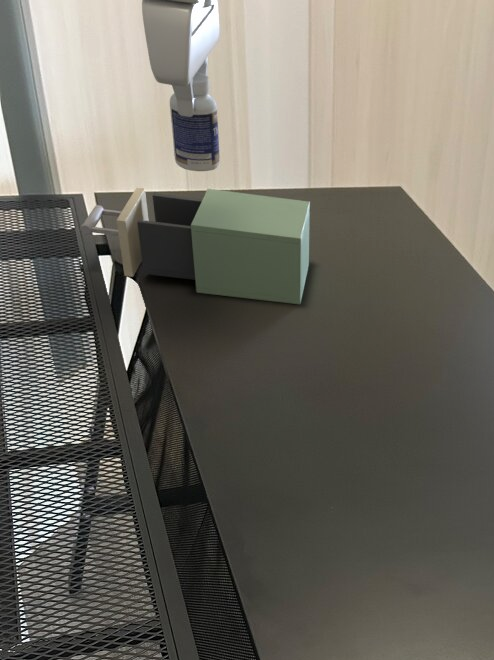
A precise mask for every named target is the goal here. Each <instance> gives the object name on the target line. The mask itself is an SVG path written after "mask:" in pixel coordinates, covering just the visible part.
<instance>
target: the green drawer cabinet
mask: <svg viewBox="0 0 494 660" xmlns="http://www.w3.org/2000/svg"><path fill="white" fill-rule="evenodd" d="M202 199H203V200H202V202H201V204H200V206H199V209H198V211H197V213H196V215H195V217H194V219H193V221H192V224H191V233H192V245H193V257H194V269H195V280H194V281H195V293H197V294H198V293H199V294H206V295H217V296H224V297H233V298H240V299H251V300H257V301H267V302H276V303H283V304H284V303H285V304H293V305H301V303H302V298H303V294H304V289H305V284H306V280H307V275H308V271H309V267H310V221H311V220H310V215H311V212H310V211H311V209H310V207H311V201H306V200H299V199H290V198H282V197H276V196H270V195H269V196H268V195H260V194H252V193H245V192H236V191H229V190H221V189H213V188H207V189H206V191H205V194H204V196H203V198H202Z"/></svg>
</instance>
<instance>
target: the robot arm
mask: <svg viewBox="0 0 494 660" xmlns="http://www.w3.org/2000/svg"><path fill="white" fill-rule="evenodd" d="M141 13H142V22H143V28H144V29H143V30H144V35H145V42H146V48H147V54H148V61H149V66H150V69H151V72H152V75H153V77H154V79H155V81H156V82H157V83H159V84H162V85H169V86H171V87H172V90H173V94H174V93H175V96H176V100H177V111H178V113H179V114H180V115H181V116H187V117H192V116H193V114H194V112H195V111H196V107H195V97H193V89H192V84H193V77H194V76H195V74H196V73H197V72H199V73H203V74H205V75H207V76H208V66H209V65H208V64H209V55H210V54H211V52H212V51H213V49H214V48H215V47H216V45H217V43H218V42H219V41H220V40H219V39H220V15H219V3H218V0H141Z"/></svg>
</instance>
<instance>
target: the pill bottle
mask: <svg viewBox="0 0 494 660" xmlns="http://www.w3.org/2000/svg"><path fill="white" fill-rule="evenodd" d="M192 89H193V97H195V107H196V111H195V112H194V114H193V116H192V117H187V116H181V115H180V114H179V113H178V111H177V100H176V96H175V93H174V92H173V94H172V95H170V98H169V110H170V111H169V112H170V124H171V131H172V140H173V141H172V143H173V156H174V161H175V163H176V165H177V166H178V167H180V168H182V169H184V170H186V171H191V172H210V171H214V170H216V169H217V168H218V167H219V166H220V164H221V162H220V161H221V160H220V158H221V157H220V139H219V138H220V137H219V121H218V105H217V102H216V100H215V99H214V97H213V96H211V95H209V93H210V92H211V91H210V90H211V86H210V77H209V76H208V74H207V75H205V74H203V73H199V72H197V73H196V74H195V76H194V77H193V84H192Z"/></svg>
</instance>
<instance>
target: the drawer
mask: <svg viewBox="0 0 494 660" xmlns="http://www.w3.org/2000/svg"><path fill="white" fill-rule="evenodd" d="M202 200H203V198H202V199H201V198H196V197H195V198H194V197H185V196H178V195H171V194H164V193H153V194H152V205H153V213H154V221H152V220H150V219H149V211H148V203H147V202H148V201H147V195H146V188H143V187H135V189H134V191H133V193H132V194H131V196H130V197H129V199H128V200H127V202H126V204H125V206H124V207H123V209H122V210H114V209H105V208H104V207H103V206H102V205H100V204H97V205H94V207H93V208H92V210H91V211H90V213H88V216H87V217H86V219H85V220H84V221H83V223H82V225H81V226H80V232H81V233H82V234H83V235H84V236H90V235H91V234H92V233H93V234H94V233H95V234H100V235H101V234H102V235H109V236H117V237H118V241H119V247H120V248H119V249H120V255H121V261H122V267H123V268H122V269H123V274H124V277H131V278H133V277H134V276H135V274H136V272H137V270H138V269H139V266H140V265H141V264H142V272H143V274H144V275H150V276H157V277H167V278H177V279H184V280H194V281H195V269H194V257H193V245H192V233H191V224H192V221H193V219H194V217H195V215H196V213H197V211H198V209H199V206H200V204H201V202H202ZM103 216H111V217H117V219H116V220H115V221H116V227H117V229H115V228H114V229H113V228H107V227H99V226H97V225H98V224H99V222H100V220H101V218H102V217H103Z"/></svg>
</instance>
